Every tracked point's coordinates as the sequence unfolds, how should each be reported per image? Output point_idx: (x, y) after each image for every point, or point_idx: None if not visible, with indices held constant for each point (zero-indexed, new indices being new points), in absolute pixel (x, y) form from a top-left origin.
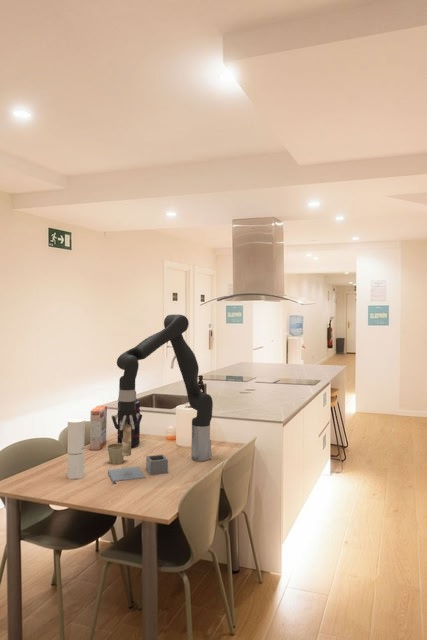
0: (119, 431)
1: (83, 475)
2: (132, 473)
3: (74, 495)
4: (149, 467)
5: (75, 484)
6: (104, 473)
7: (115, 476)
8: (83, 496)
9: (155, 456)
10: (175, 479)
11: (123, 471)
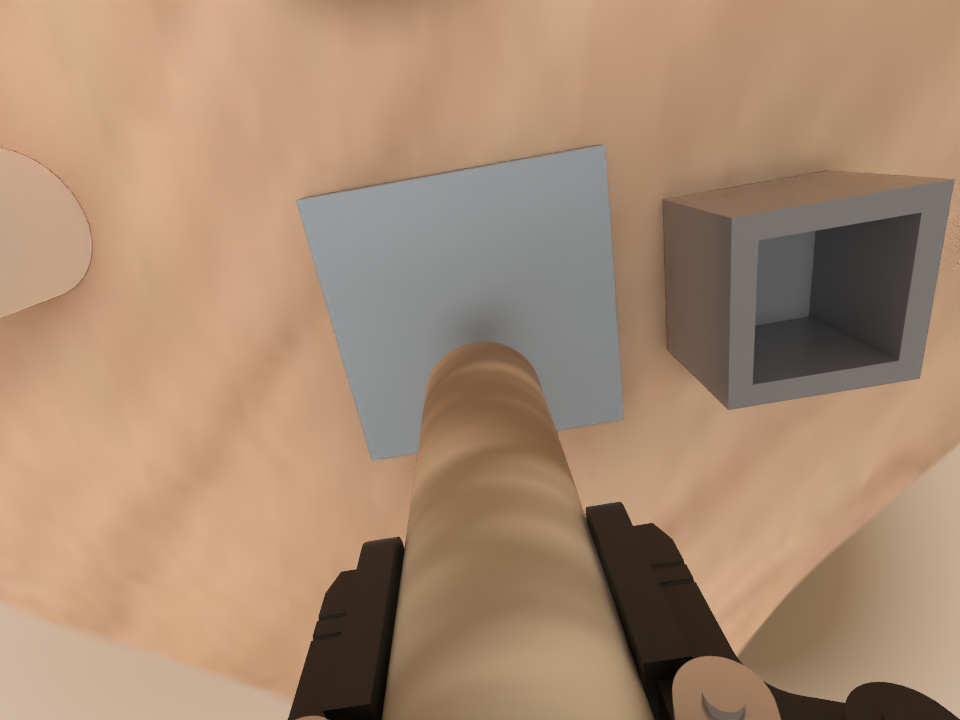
0: (311, 702)
1: (85, 250)
2: (529, 331)
3: (149, 581)
4: (695, 344)
5: (87, 415)
6: (273, 196)
7: (384, 381)
8: (211, 599)
9: (837, 224)
10: (835, 421)
11: (451, 270)
